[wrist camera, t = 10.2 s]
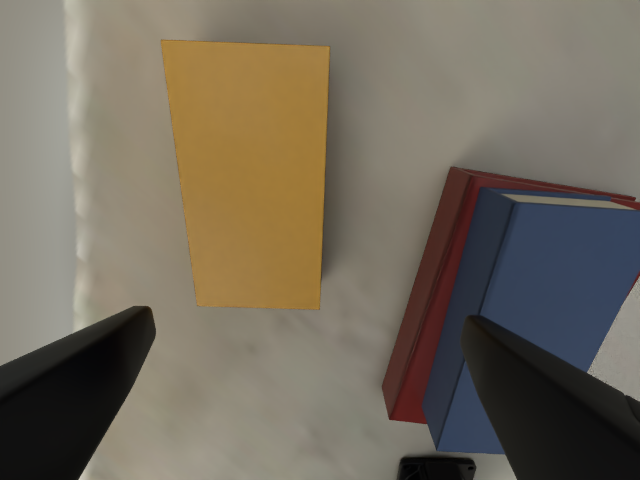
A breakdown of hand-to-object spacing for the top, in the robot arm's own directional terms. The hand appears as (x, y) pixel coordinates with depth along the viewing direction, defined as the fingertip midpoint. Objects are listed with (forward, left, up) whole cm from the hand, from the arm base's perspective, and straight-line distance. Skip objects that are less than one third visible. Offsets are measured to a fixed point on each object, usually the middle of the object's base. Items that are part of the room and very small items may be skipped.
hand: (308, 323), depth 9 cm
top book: (+2, +3, -11) cm, 11 cm away
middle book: (-5, -11, -8) cm, 14 cm away
